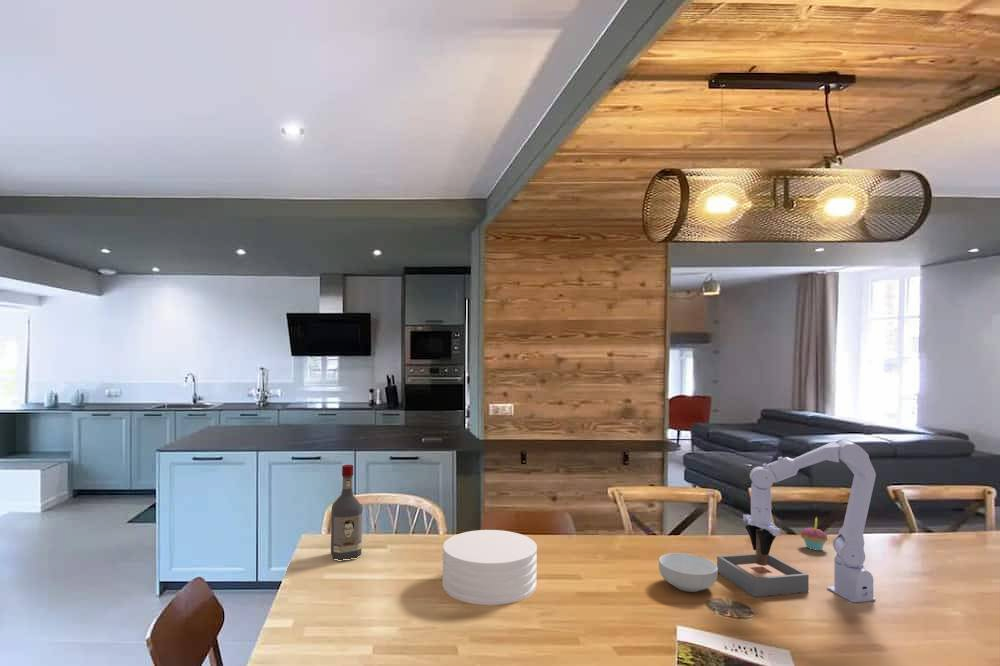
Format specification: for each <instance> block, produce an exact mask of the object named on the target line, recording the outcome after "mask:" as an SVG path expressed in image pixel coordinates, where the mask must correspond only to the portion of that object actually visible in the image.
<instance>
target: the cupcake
mask: <svg viewBox="0 0 1000 666" xmlns="http://www.w3.org/2000/svg"><path fill="white" fill-rule="evenodd" d="M799 533H800V534H799V535H800V538H802V539H803V540H804V542H805V545H806V546H807V547H808V548H811V549H816V550H820V551H822V550H823V548H824V545H825V543H826V542H827V541H828V534H827V533H826V532H825V531H823V530H822V529H819V528H818V516H816V517H815V518H814V527H806V528H803V529H802V530H800V532H799ZM807 547H806V548H807ZM808 548H807V549H808ZM811 549H810V550H811ZM821 549H822V550H821Z"/></svg>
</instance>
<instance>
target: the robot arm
mask: <svg viewBox="0 0 1000 666" xmlns="http://www.w3.org/2000/svg"><path fill="white" fill-rule="evenodd" d="M825 461H830V462H835V463H840V461H841V462H843V463H844V464H846V466H847V468H849V470H850V471H851V473H852V474H853V479H852V484H851V488H850V493H849V496H848V497H849V498H848V501H847V505H846V506H847V507H846V511H845V515H844V521H843V524H842V527H840V529H839V531H838V534H837V535H836V537H835V538H834V539H833V541H832V547H833V549H834V551H835V552H836V554H835V557H834V560H833V561H834V563H833V564H834V565H833V566H834V570H833V571H834V572H833V573H834V577H833V578H834V580H833V581H834V585H831V586H827V588H826V589H828V590H829V591H832V592H833V593H835V594H836V595H838V596H839V597H840V596H841V597H842V598H844V599H846V600H847V601H849V602H851V603H860V602H861V603H862V602H872V601H876V600H877V599H876V598H875V597H874V577H873V575H872V573H871V572H870V571H868V570H867V569H866V568H865V566H864V563H865V560H866V553H865V549H864V548H865V538H864V531H865V526H866V522H867V518H868V513H869V508H870V504H871V498H872V495H873V492H874V491H873V490H874V486H875V481H876V476H877V474H876V471H875V468H874V466H873V464H872V462H871V460H870V456H869V453H867V452H866V451H865V449H863V448H862V447H861V446H860V445H858V444H856V443H854V442H853V441H852V440H849V439H845V438H842V439H839V440H837V441H831V442H829V443H826V444H824V445H822V446H819V447H818V448H817V447H816V448H815V449H812V450H810V451H807V452H805V453H803V454H801V455H799V456H796V457H794V458H791V457H788V456H784V457H783V456H779V457H777V460H774V461H772V462H770V463H766V462H765V463H762V466H756V467H753V468H752V469H751V471H750V473H749V478H750V481H751V485H750V488H751V489H750V514H742V517H743V518H742V520H743V522H745V523H746V522H747V524H748V525H745V526H744V527H745V529H746V531H747V533H748V535H749V538H750V541H751V542H750V543H751V546H752V550H754V551H756V529H763V531H757V534H758V537H759V540H760V549H761V554H762V555H769V554H770V552H771V548H772V545H773V543H774V541H775V539H776V537H780V536H781V528H778V527H777V526H776V525H775V524H774V523H773V522H772V492H771V490H772V489H771V488H772V486H773V484H774V483H778V482H781V481H783V480H786V479H788V478H792V477H794V476H797V474H798V471H799V470H800V469H803V468H806V467H810V466H813V465H816V464H818V463H821V462H825Z"/></svg>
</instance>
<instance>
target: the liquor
mask: <svg viewBox="0 0 1000 666" xmlns="http://www.w3.org/2000/svg"><path fill="white" fill-rule="evenodd" d="M341 476H342V484H341V485H342V490H341V493H340V495H339V496H338V498H337V499H335V501H334V502H333V503H332V505H331V521H330V522H331V524H330V525H331V526H330V527H331V529H330V532H331V534H330V554H331V556H332V560H334V559H338V560H343V559H351V558H357V557H358V556H360V555H361V556H362V544H363V543H362V541H363V539H362V535H363V533H362V532H363V528H362V527H363V507H362V505H361V503H360V501H358V499H357V498H356V497H355V496H354V491H353V476H354V464H343V465H342V468H341ZM361 556H360V557H361ZM357 559H358V558H357Z"/></svg>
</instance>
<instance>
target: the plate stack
mask: <svg viewBox="0 0 1000 666" xmlns="http://www.w3.org/2000/svg"><path fill="white" fill-rule="evenodd" d="M442 552H443V553H442V585H443V586H442V588H444V589H443V590H445V591H446V592H445V591H444V592H445V593H446V594H447V595H448V594H449V595H448V596H450V597H451V598H453V599H456V600H458V601H461V602H465V603H467V604H472V605H473V604H474V605H481V606H483V605H484V606H498V605H507V604H512V603H516V602H519V601H522V600H525V599H526V598H528V597H530V596H531V595H532V594H533V593H534V592H535V591H536V589H537V576H538V574H537V573H538V572H537V569H538V567H537V566H538V564H537V563H538V562H537V561H538V560H537V559H538V557H537V556H538V555H537V553H538V545H537V543H536V542H535V540H533V539H532V538H531V537H530V536H529V537H528V536H527V535H524V534H521V533H519V532H514V531H513V532H512V531H510V530H509V531H508V530H502V529H501V530H500V529H479V530H478V529H477V530H470V531H465V532H461V533H458V534H455V535H452V536H450V537H448V539H446V540H445V541H444V542H443V544H442Z"/></svg>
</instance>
